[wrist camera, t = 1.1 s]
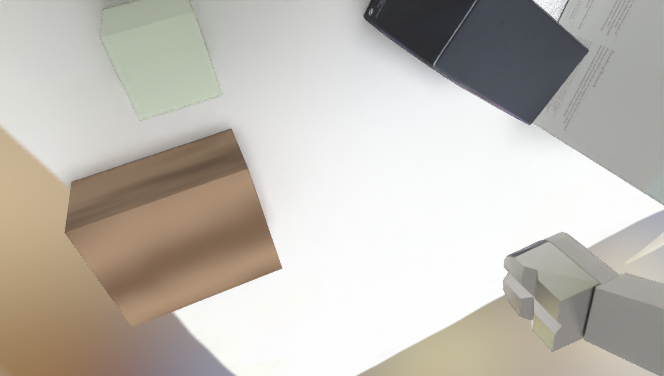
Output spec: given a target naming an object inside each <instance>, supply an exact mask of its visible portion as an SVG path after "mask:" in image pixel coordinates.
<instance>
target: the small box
mask: <svg viewBox="0 0 664 376" xmlns="http://www.w3.org/2000/svg"><path fill="white" fill-rule="evenodd" d="M364 18H365V19H366V20H367V21H368V22H369V23H371V24H372V25H373V26H374V27H376V28H377V29H378V30H379V31H381V32H382V33H383V34H384V35H386V36H387V37H388V38H390V39H391V40H392V41H394V42H395V43H397V44H398V45H399V46H401V47H402V48H404V49H405V50H406V51H408V52H409V53H411V54H412V55H414V56H415V57H416V58H418V59H419V60H421V61H422V62H424V63H425V64H426V65H428V66H429V67H431V68H432V69H434V70H435V71H437V72H438V73H440V74H441V75H443V76H444V77H446V78H447V79H449V80H450V81H452V82H454V83H455V84H457V85H458V86H460V87H461V88H463V89H465V90H467V91H469V92H470V93H472V94H474V95H476V96H477V97H479V98H481V99H483V100H484V101H486V102H488V103H490V104H491V105H493V106H495V107H497V108H498V109H500V110H502V111H504V112H506V113H508V114H509V115H511V116H513V117H515V118H517V119H519V120H521V121H523V122H525V123H526V124H528V125H531V124H532V123H533V122H534V120H535V119H536V118H537V117H538V116H539V114H540V113H541V112H542V110H543V109H544V108H545V107H546V105H547V104H548V103H549V102H550V100H551V99H552V98H553V96H554V95H555V94H556V93H557V91H558V90H559V89H560V87H561V86H562V85H563V83H564V82H565V81H566V80H567V78H568V77H569V76H570V74H571V73H572V72H573V71H574V69H575V68H576V67H577V66H578V64H579V63H580V62H581V61H582V59H583V58H584V57H585V56H586V55H587V53H588V52H589V49H588V48H587V47H585V46H584V45H583V44H582V43H581V42H580V41H579V40H578V39H576V38H575V37H574V36H573V35H572V34H571V33H570V32H568V31H567V30H566V29H565V28H564V27H563V26H562V25H561V24H559V23H558V22H557V21H556V20H555V19H554V18H553V17H552V16H551V15H549V14H548V13H547V12H546V11H545V10H544V9H542V8H541V7H540V6H539V5H538V4H536V3H535V2H534V1H533V0H372V2H371V4H370V6H369V8H368V10H367V12H366V13H365V15H364Z"/></svg>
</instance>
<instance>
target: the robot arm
mask: <svg viewBox="0 0 664 376" xmlns="http://www.w3.org/2000/svg"><path fill="white" fill-rule="evenodd" d="M504 268H505V269H506V270H507V271H508V274H507V275H506V277H505V278H504V280H503V290H504V293H505V295H506V298H507V300H508V302H509V304H510V305H511V307H512V308H513V309H514V310H515V312H516V313H517V314H518V315H519V316H521V317H523V318H526V319H529V320H531V322H532V330H533V332H534V333H535V334H536V335H537V336H538V337H539V338H540V339H541V340H542V341H543V343H544V344H545V345H546V346H547V347H548V348H549V349H550V350H551V351H552V352H553V351H555V350H558V349H560V348H562V347H564V346H567V345H569V344H571V343H573V342H575V341H578V340H580V339H582V338H584V340H585V341H587V342H589V343H592V344H593V345H596V346H598V347H600V348H602V349H604V350H606V351H608V352H610V353H612V354H615V355H617V356H619V357H621V358H623V359H625V360H627V361H630V362H631V363H634V364H636V365H638V366H640V367H643V368H644V369H646V370H648V371H651V372H653V373H655V374H657V375H659V376H664V284H663V283H660V282H656V281H653V280H649V279H646V278H642V277H638V276H635V275H631V274H628V273H624V274H621V275H619V274H618V273H617V272H616V271H614V270H613V269H612V268H611V267H609V266H608V265H607V264H606V263H604V262H603V261H602V260H600V259H599V258H598V257H597V256H595V255H594V254H593V253H592V252H590V251H589V250H588V249H587V248H585V247H584V246H583V245H582V244H580V243H579V242H578V241H576V240H575V239H574V238H573V237H571V236H570V235H569V234H567V233H564V232H560V233H557V234H555V235H553V236H551V237H549V238H547V239H545V240H541V241H538V242H536V243H534V244H532V245H530V246H527V247H525V248H523V249H521V250H519V251H516V252H514V253H512V254H510V255H508V256H507V257H506V258H505V260H504Z"/></svg>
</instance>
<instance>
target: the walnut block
mask: <svg viewBox="0 0 664 376" xmlns="http://www.w3.org/2000/svg"><path fill="white" fill-rule="evenodd" d="M65 234H66V235H67V236H68V238H69V239H70V241H71V242H72V244H73V245H74V246H75V248H76V249H77V250H78V252H79V253H80V255H81V256H82V258H83V259H84V260H85V262H86V263H87V265H88V266H89V267H90V269H91V270H92V272H93V273H94V274H95V276H96V277H97V279H98V280H99V281H100V283H101V284H102V286H103V287H104V288H105V290H106V291H107V293H108V294H109V295H110V297H111V298H112V300H113V301H114V302H115V304H116V305H117V307H118V308H119V309H120V311H121V312H122V314H123V315H124V316H125V318H126V319H127V321H128V322H129V323H130V325H131V326H132V327H135V326H137V325H140V324H143V323H145V322H148V321H150V320H153V319H155V318H158V317H160V316H163V315H165V314H168V313H171V312H173V311H176V310H178V309H181V308H183V307H186V306H188V305H191V304H193V303H196V302H198V301H201V300H203V299H206V298H209V297H211V296H214V295H216V294H219V293H221V292H224V291H226V290H229V289H231V288H234V287H236V286H239V285H241V284H244V283H247V282H249V281H252V280H254V279H257V278H259V277H262V276H264V275H267V274H269V273H272V272H274V271H277V270H279V269H282V266H281V263H280V260H279V257H278V254H277V252H276V249H275V246H274V243H273V240H272V237H271V234H270V231H269V228H268V225H267V222H266V219H265V217H264V214H263V211H262V208H261V205H260V202H259V199H258V196H257V193H256V190H255V187H254V184H253V182H252V179H251V176H250V173H249V170H248V167H247V165H246V163H245V160H244V158H243V155H242V153H241V151H240V148H239V146H238V144H237V141H236V139H235V137H234V134H233V132H232V129H231V130H228V131H225V132H222V133H219V134H216V135H213V136H210V137H207V138H204V139H201V140H198V141H195V142H192V143H188V144H185V145H182V146H179V147H176V148H173V149H170V150H167V151H164V152H161V153H158V154H155V155H152V156H149V157H146V158H143V159H140V160H137V161H134V162H131V163H128V164H125V165H122V166H119V167H116V168H113V169H110V170H107V171H104V172H101V173H98V174H95V175H92V176H89V177H86V178H83V179H80V180H77V181H74V182H72V184H71V191H70V198H69V206H68V214H67V220H66V227H65Z"/></svg>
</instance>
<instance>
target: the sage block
mask: <svg viewBox="0 0 664 376" xmlns="http://www.w3.org/2000/svg"><path fill="white" fill-rule="evenodd" d="M100 39H101V41H102V43H103V45H104V47H105V50H106V52H107V54H108V56H109V58H110V60H111V62H112V64H113V66H114V68H115V70H116V72H117V75H118V77H119V79H120V81H121V83H122V85H123V87H124V89H125V91H126V93H127V95H128V97H129V99H130V102H131V104H132V106H133V108H134V110H135V112H136V114H137V116H138V118H139V120H140V121H142V120H145V119H148V118H151V117H154V116H157V115H161V114H164V113H167V112H170V111H173V110H176V109H180V108H183V107H186V106H189V105H192V104H195V103H199V102H202V101H205V100H208V99H211V98H214V97H217V96H221V95H223V94H222V91H221V88H220V86H219V83H218V80H217V77H216V74H215V71H214V68H213V65H212V62H211V59H210V56H209V53H208V51H207V48H206V45H205V42H204V39H203V36H202V33H201V30H200V27H199V24H198V21H197V18H196V16H195V13H194V10H193V8H192V6H191V4H190V2H189V0H137V1H133V2H129V3H126V4H122V5H118V6H115V7H111V8H107V9H103V11H102V22H101V32H100Z"/></svg>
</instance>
